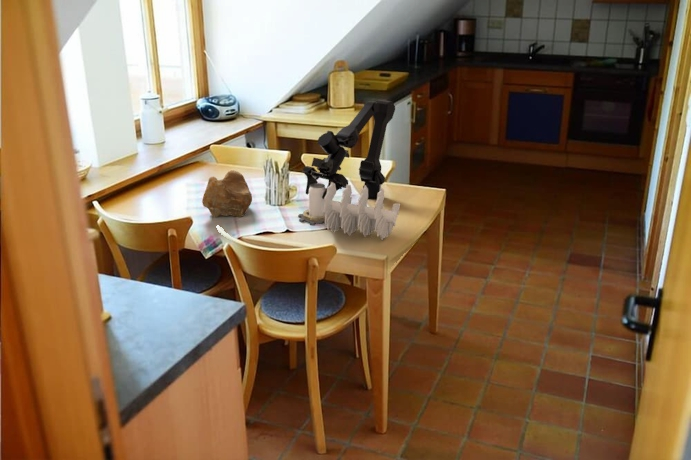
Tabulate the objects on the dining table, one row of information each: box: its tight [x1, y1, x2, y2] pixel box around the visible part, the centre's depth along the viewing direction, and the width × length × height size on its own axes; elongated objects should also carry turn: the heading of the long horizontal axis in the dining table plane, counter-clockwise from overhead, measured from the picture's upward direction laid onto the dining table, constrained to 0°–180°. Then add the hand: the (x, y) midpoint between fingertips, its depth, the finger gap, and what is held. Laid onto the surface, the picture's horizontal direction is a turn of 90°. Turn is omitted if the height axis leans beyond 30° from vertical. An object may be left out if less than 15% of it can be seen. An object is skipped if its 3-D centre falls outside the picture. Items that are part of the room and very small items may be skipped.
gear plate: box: [298, 209, 326, 226], centre depth 242 cm, size 14×14×2 cm
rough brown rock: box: [202, 170, 253, 218], centre depth 246 cm, size 23×17×15 cm
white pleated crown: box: [323, 182, 401, 241], centre depth 225 cm, size 18×18×25 cm
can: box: [308, 182, 327, 217], centre depth 240 cm, size 6×6×12 cm
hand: (314, 196), depth 239 cm, fingers open, 8 cm apart
